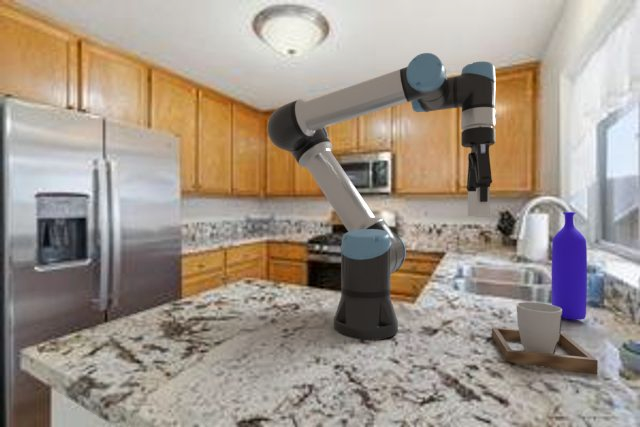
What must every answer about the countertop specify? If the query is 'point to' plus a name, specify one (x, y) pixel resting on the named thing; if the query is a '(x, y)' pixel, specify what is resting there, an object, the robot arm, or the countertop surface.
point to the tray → (576, 362)
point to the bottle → (569, 270)
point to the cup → (539, 326)
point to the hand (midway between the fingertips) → (477, 216)
